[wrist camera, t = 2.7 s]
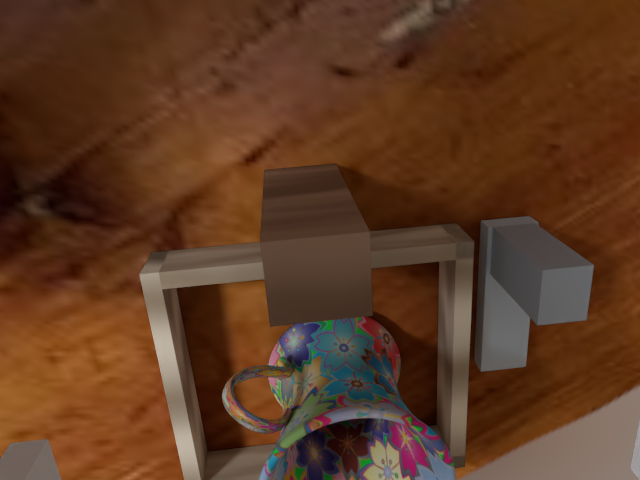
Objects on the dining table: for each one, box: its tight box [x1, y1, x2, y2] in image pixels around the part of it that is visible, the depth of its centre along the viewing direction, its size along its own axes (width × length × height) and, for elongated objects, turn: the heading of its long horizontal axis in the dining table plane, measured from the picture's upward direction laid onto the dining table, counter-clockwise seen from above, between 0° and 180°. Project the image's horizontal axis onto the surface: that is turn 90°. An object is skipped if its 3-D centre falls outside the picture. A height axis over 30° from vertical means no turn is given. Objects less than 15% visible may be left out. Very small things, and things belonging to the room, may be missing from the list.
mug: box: [222, 317, 455, 480], centre depth 29 cm, size 12×9×11 cm
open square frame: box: [139, 164, 474, 480], centre depth 28 cm, size 20×18×11 cm
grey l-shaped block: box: [474, 216, 594, 372], centre depth 30 cm, size 10×3×7 cm, turn 4°
